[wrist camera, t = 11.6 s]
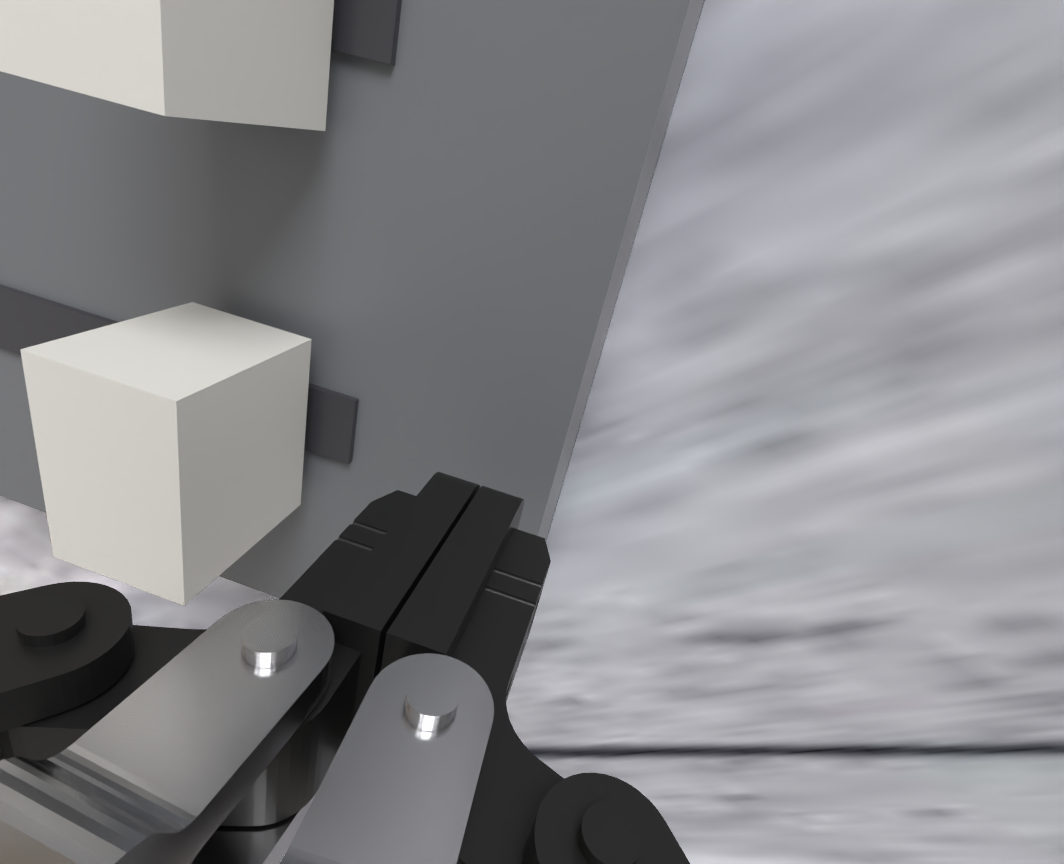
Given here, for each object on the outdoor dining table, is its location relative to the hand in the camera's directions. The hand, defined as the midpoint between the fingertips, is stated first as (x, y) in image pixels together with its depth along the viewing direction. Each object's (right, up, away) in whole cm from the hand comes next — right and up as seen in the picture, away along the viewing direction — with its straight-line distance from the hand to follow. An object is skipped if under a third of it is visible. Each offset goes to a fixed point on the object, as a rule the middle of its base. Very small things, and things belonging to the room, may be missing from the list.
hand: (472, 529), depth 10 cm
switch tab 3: (-4, +2, +2) cm, 5 cm away
